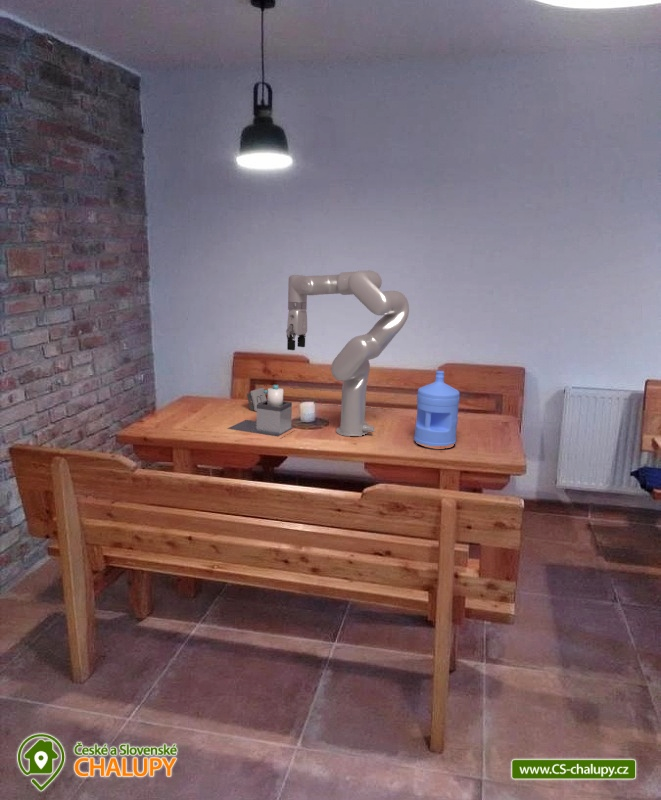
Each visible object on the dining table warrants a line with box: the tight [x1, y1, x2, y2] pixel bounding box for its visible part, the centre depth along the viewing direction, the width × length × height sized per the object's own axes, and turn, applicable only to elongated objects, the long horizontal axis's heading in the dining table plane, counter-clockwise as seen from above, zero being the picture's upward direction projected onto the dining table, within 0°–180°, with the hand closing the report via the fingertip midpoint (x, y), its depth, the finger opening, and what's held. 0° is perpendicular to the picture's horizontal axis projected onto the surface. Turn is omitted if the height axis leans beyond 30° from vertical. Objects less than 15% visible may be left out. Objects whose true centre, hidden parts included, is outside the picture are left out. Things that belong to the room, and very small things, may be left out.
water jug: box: [413, 370, 461, 446], centre depth 243 cm, size 16×16×28 cm
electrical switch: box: [246, 387, 267, 412], centre depth 287 cm, size 9×5×9 cm, turn 152°
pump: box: [264, 384, 284, 407], centre depth 249 cm, size 8×6×8 cm
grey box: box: [226, 399, 296, 439], centre depth 254 cm, size 22×16×12 cm
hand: (296, 348), depth 266 cm, fingers open, 9 cm apart
